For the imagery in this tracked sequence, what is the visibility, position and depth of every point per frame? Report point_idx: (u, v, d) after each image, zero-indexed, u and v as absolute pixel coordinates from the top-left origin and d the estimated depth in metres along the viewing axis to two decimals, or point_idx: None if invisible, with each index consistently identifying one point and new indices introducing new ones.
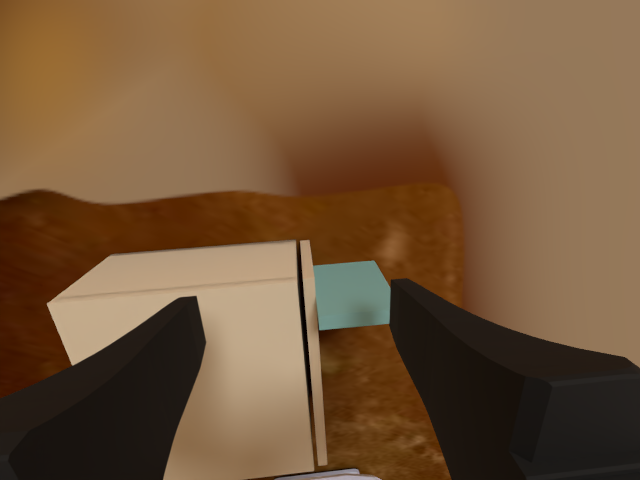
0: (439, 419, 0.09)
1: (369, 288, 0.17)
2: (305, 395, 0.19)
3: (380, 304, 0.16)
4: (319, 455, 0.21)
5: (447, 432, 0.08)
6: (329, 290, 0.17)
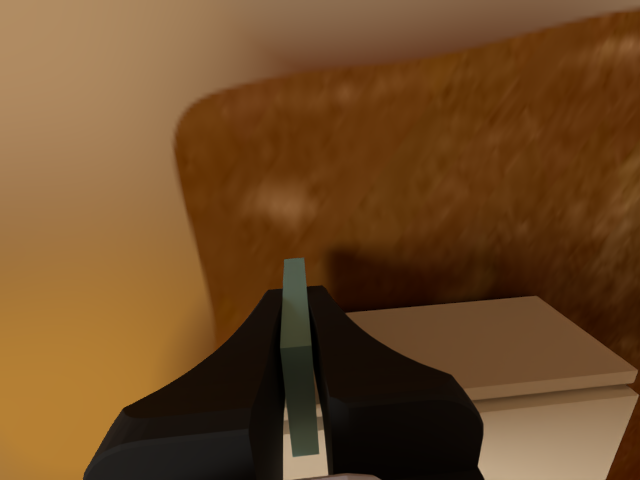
0: None
1: None
2: None
3: None
4: (610, 382, 0.12)
5: (326, 446, 0.08)
6: None
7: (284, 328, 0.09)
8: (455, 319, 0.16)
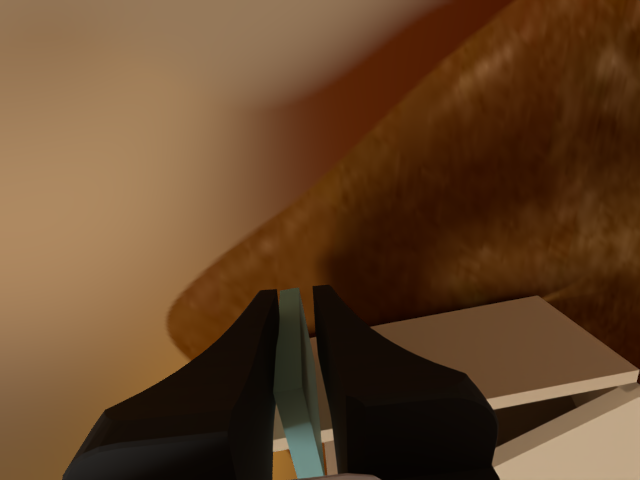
0: (334, 431, 0.09)
1: None
2: None
3: None
4: (612, 384, 0.12)
5: (336, 445, 0.08)
6: None
7: (278, 370, 0.10)
8: (456, 328, 0.16)
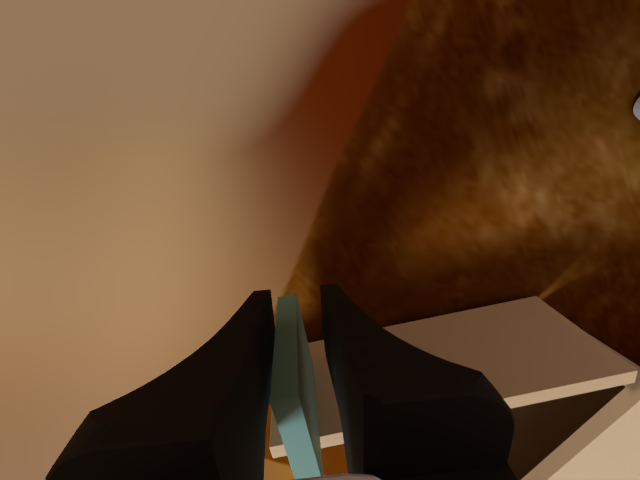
0: (344, 429, 0.09)
1: None
2: None
3: None
4: (610, 385, 0.12)
5: (347, 443, 0.08)
6: None
7: (274, 379, 0.10)
8: (454, 331, 0.16)
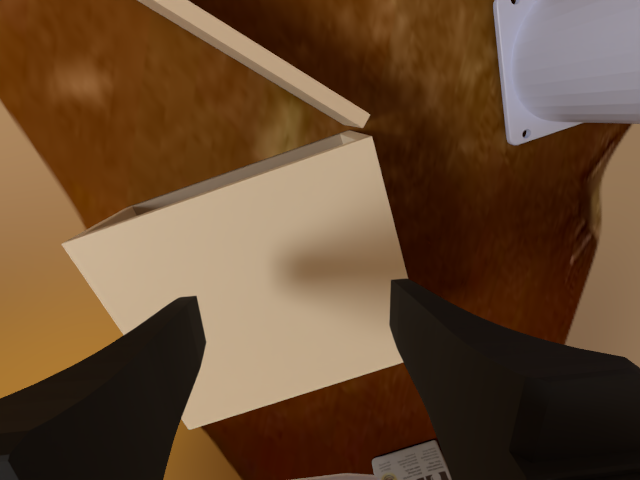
0: (439, 419, 0.09)
1: None
2: (224, 190, 0.14)
3: None
4: (344, 113, 0.13)
5: (447, 432, 0.08)
6: None
7: None
8: None
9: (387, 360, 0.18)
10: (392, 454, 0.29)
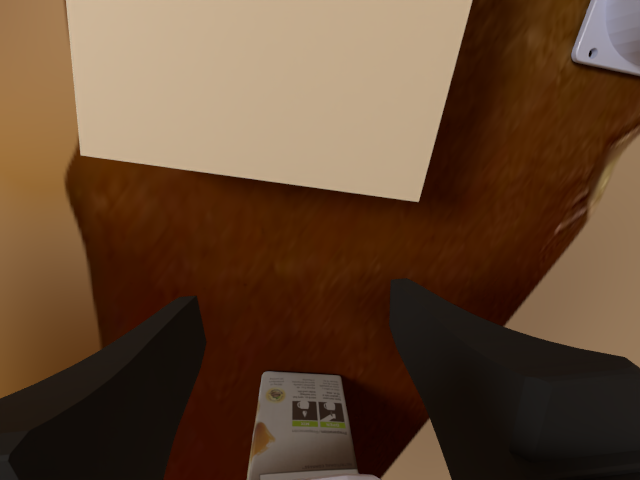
0: (439, 419, 0.09)
1: None
2: None
3: None
4: None
5: (447, 432, 0.08)
6: None
7: None
8: None
9: (374, 186, 0.14)
10: (289, 373, 0.25)
